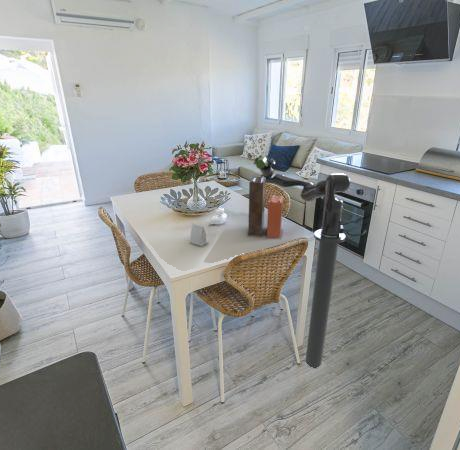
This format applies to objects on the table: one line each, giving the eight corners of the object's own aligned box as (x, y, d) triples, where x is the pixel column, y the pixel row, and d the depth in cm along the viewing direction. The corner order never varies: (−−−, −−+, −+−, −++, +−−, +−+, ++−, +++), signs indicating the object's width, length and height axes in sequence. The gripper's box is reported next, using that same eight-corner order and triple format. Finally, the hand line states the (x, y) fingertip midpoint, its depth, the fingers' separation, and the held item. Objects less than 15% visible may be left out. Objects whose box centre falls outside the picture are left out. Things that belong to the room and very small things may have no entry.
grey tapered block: (201, 246, 157) (200, 228, 153) (191, 243, 161) (190, 225, 157) (206, 243, 160) (205, 225, 156) (196, 240, 163) (195, 222, 159)
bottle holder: (280, 230, 179) (283, 195, 171) (279, 238, 168) (282, 201, 160) (268, 229, 180) (270, 194, 172) (266, 237, 169) (268, 200, 161)
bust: (211, 230, 182) (219, 219, 174) (204, 220, 184) (211, 208, 176) (226, 224, 190) (234, 213, 182) (220, 214, 192) (227, 203, 184)
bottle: (268, 162, 187) (268, 153, 185) (264, 168, 167) (265, 159, 165) (260, 161, 187) (260, 153, 186) (255, 168, 168) (256, 159, 166)
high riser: (263, 228, 180) (265, 176, 168) (261, 237, 169) (263, 181, 157) (251, 227, 181) (252, 175, 169) (248, 236, 170) (249, 180, 158)
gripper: (254, 160, 198) (251, 150, 181) (276, 161, 196) (276, 151, 179) (253, 172, 197) (250, 162, 180) (276, 173, 195) (275, 163, 178)
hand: (263, 157), depth 179 cm, fingers closed on bottle, 2 cm apart
